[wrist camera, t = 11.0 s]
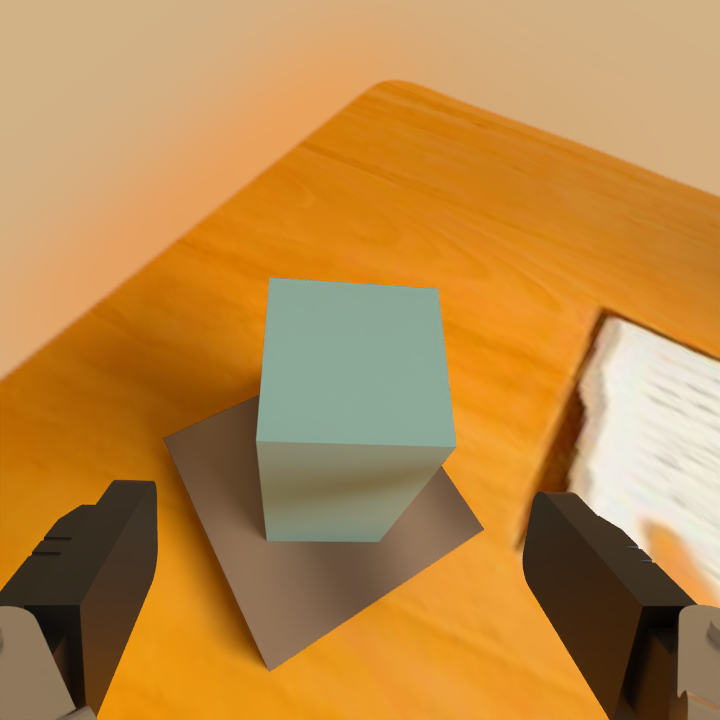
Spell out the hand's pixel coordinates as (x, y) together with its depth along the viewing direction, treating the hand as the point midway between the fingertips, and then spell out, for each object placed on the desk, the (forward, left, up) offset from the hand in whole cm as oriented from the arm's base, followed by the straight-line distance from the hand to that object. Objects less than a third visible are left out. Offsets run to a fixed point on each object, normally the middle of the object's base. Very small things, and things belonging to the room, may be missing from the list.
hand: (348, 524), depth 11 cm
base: (-2, -3, -13) cm, 13 cm away
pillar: (-2, -3, -11) cm, 11 cm away
